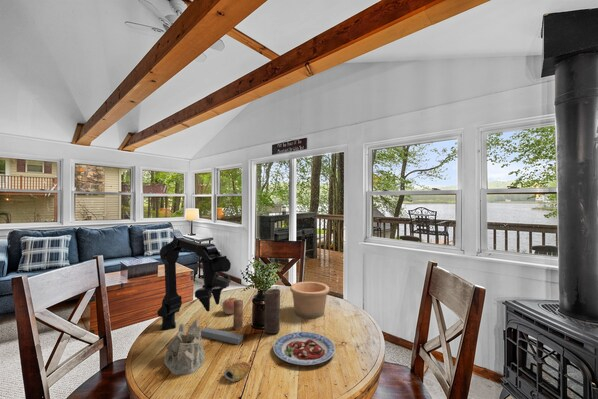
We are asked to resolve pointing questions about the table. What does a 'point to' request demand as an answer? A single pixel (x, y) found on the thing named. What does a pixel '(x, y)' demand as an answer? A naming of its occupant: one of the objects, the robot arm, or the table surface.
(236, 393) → the table surface
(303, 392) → the table surface
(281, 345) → the ceramic plate
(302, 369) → the table surface
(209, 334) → the ridge
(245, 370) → the pastry
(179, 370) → the grey castle model
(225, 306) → the apple
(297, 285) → the pottery
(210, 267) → the robot arm
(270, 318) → the candle
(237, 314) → the rod
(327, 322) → the table surface
